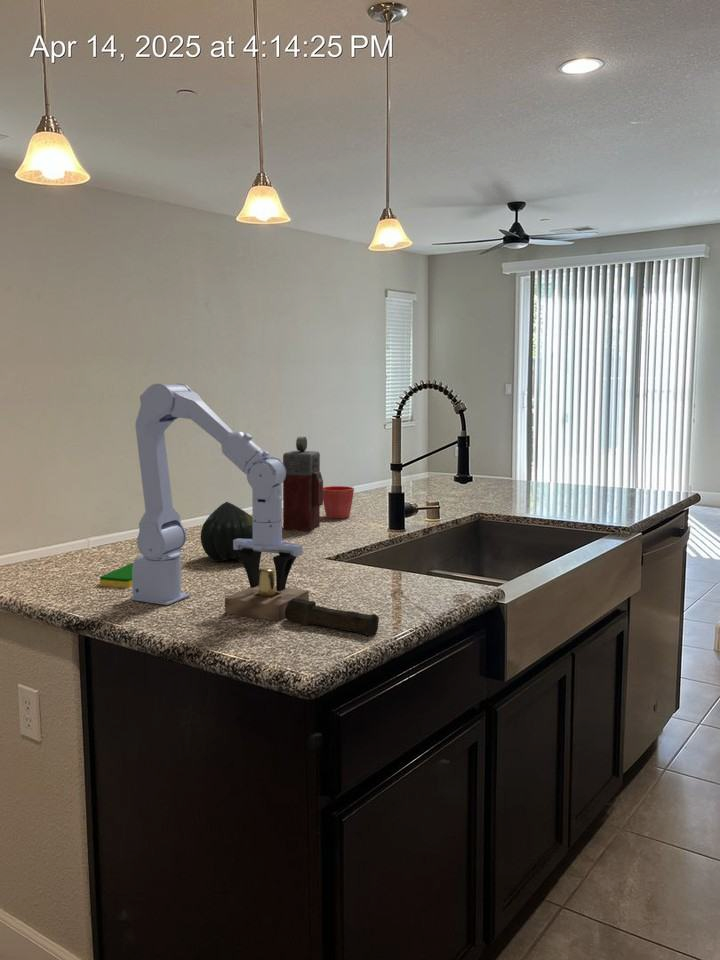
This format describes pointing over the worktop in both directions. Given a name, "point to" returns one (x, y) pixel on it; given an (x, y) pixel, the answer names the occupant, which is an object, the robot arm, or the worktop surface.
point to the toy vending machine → (302, 488)
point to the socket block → (262, 603)
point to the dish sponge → (118, 577)
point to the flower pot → (337, 501)
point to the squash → (225, 531)
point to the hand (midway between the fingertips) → (267, 588)
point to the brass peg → (267, 582)
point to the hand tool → (330, 617)
